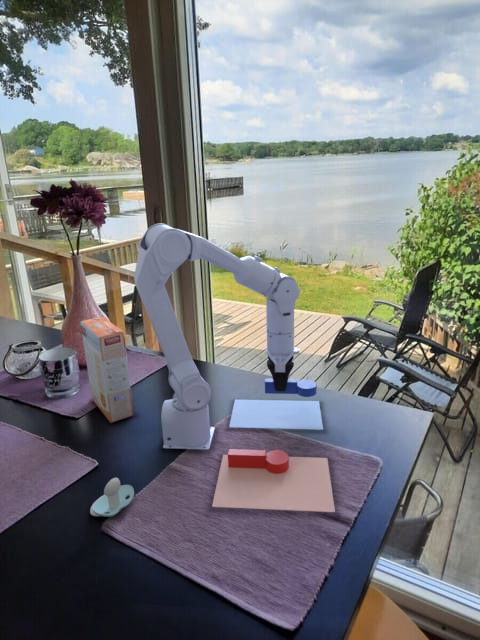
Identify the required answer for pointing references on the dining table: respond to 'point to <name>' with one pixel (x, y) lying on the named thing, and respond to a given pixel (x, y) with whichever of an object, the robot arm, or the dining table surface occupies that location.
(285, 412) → the blue mat
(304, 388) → the blue spoon
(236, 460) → the red spoon
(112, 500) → the pacifier
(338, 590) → the dining table surface
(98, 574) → the dining table surface
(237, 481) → the rose mat
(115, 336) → the cracker box
